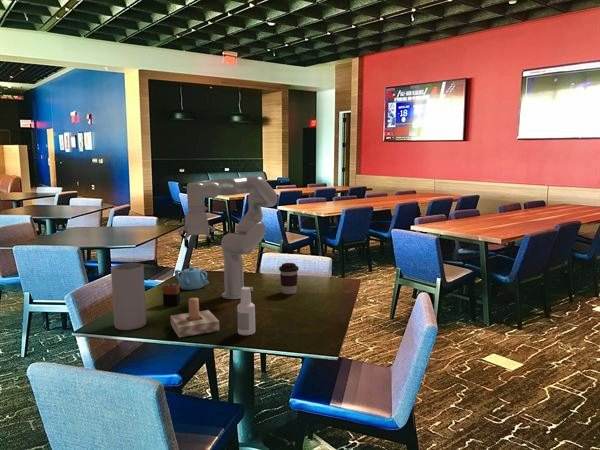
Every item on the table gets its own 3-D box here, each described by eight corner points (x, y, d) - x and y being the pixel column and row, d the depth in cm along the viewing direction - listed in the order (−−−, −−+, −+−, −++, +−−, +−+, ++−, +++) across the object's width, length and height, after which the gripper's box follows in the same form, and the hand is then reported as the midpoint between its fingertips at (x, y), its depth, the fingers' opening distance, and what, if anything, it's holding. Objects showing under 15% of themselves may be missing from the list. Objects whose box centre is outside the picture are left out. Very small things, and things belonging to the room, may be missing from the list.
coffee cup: (299, 290, 249) (299, 262, 247) (297, 295, 239) (297, 266, 237) (280, 289, 250) (280, 261, 248) (278, 295, 240) (277, 265, 238)
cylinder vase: (135, 318, 206) (132, 262, 202) (152, 324, 198) (149, 265, 195) (108, 326, 196) (104, 267, 193) (125, 333, 188) (121, 271, 185)
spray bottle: (238, 329, 191) (237, 286, 188) (255, 329, 191) (254, 285, 189) (237, 336, 184) (236, 290, 181) (255, 335, 184) (254, 290, 182)
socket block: (208, 319, 204) (208, 310, 204) (219, 330, 190) (219, 321, 189) (170, 324, 197) (170, 315, 197) (178, 337, 183) (178, 327, 182)
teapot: (170, 287, 258) (169, 267, 256) (198, 281, 269) (197, 262, 268) (183, 292, 246) (183, 271, 245) (212, 287, 258) (212, 266, 256)
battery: (176, 306, 223) (175, 285, 222) (163, 305, 224) (162, 285, 223) (180, 303, 227) (179, 283, 226) (167, 303, 228) (166, 282, 227)
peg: (198, 325, 196) (197, 297, 195) (200, 328, 193) (199, 299, 191) (188, 327, 194) (187, 298, 193) (190, 330, 191) (189, 301, 189)
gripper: (212, 208, 223) (213, 244, 225) (175, 210, 215) (176, 247, 217) (217, 209, 216) (218, 246, 218) (178, 211, 208) (180, 250, 211)
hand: (197, 247), depth 218 cm, fingers open, 9 cm apart
